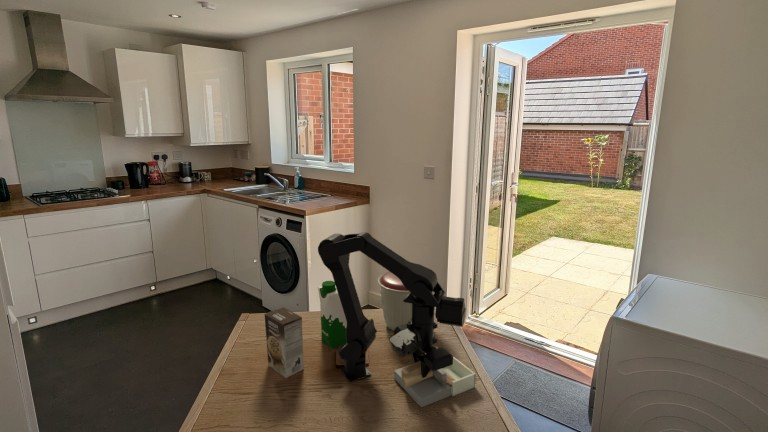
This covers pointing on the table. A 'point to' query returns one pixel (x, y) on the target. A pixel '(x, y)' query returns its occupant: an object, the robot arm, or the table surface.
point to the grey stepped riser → (425, 389)
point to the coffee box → (284, 341)
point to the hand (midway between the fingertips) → (421, 374)
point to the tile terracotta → (449, 378)
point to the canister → (394, 301)
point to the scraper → (414, 375)
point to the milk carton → (332, 316)
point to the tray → (460, 377)
